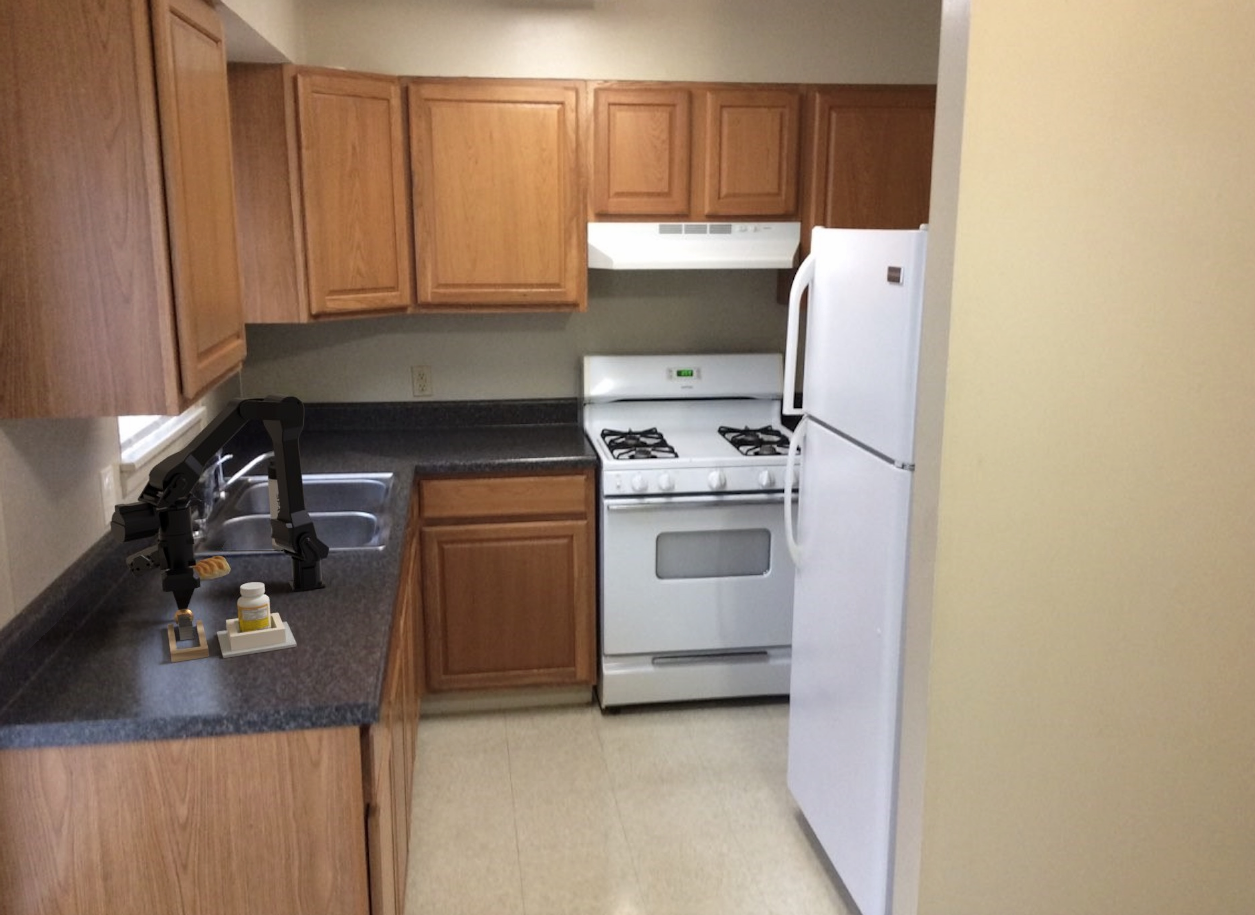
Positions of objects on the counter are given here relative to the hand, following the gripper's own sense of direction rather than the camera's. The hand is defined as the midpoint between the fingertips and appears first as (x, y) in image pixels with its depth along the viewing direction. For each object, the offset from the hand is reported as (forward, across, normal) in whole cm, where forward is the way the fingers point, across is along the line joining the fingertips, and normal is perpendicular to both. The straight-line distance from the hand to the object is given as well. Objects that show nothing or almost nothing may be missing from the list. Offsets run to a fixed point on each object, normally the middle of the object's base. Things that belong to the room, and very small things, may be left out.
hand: (182, 612), depth 191 cm
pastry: (+2, -26, +6) cm, 27 cm away
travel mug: (+2, -40, +24) cm, 47 cm away
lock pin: (+1, +8, 0) cm, 8 cm away
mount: (+1, +13, 0) cm, 13 cm away
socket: (+1, +16, +11) cm, 20 cm away
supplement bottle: (+1, +16, +11) cm, 20 cm away
